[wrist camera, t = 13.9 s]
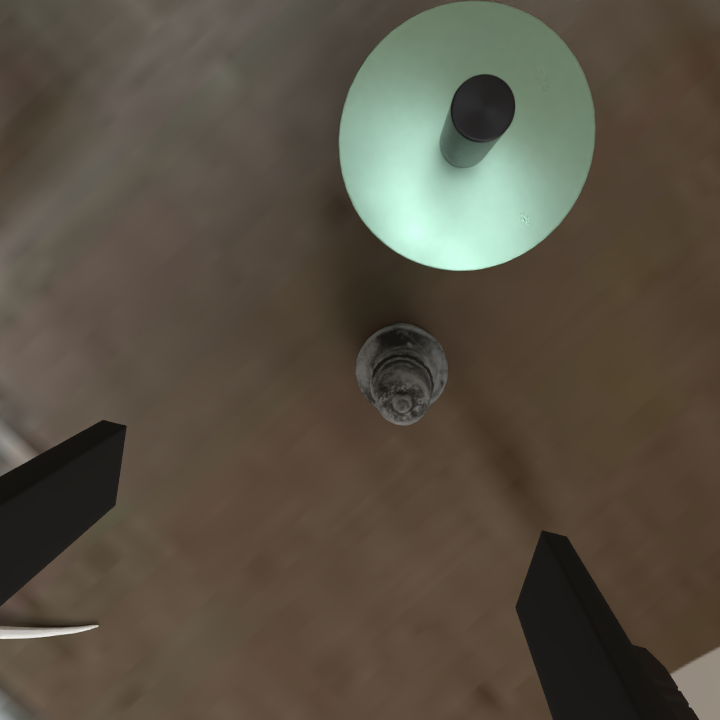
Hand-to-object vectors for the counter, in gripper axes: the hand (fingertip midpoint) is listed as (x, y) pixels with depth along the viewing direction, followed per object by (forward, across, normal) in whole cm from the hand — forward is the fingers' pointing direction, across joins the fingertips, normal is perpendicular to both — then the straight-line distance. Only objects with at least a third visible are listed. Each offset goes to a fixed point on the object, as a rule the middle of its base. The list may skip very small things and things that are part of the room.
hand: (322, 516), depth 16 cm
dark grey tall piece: (+21, +2, +1) cm, 21 cm away
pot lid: (+12, +2, +14) cm, 19 cm away
